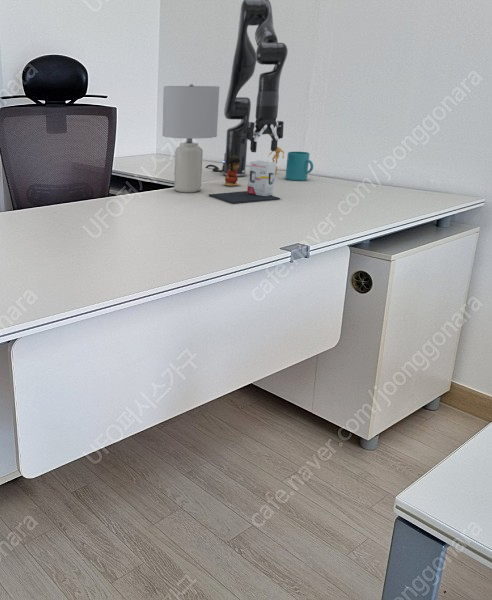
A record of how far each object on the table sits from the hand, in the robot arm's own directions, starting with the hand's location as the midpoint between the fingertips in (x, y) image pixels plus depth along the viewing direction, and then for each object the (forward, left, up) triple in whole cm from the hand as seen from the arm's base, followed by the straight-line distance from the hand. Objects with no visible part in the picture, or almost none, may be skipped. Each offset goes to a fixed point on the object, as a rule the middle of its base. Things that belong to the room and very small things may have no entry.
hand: (263, 151), depth 214 cm
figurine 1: (-24, +3, -16) cm, 29 cm away
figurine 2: (-44, +39, -16) cm, 61 cm away
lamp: (-20, -19, -16) cm, 33 cm away
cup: (-25, +38, -16) cm, 48 cm away
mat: (0, -7, -16) cm, 18 cm away
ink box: (0, 0, -16) cm, 16 cm away
